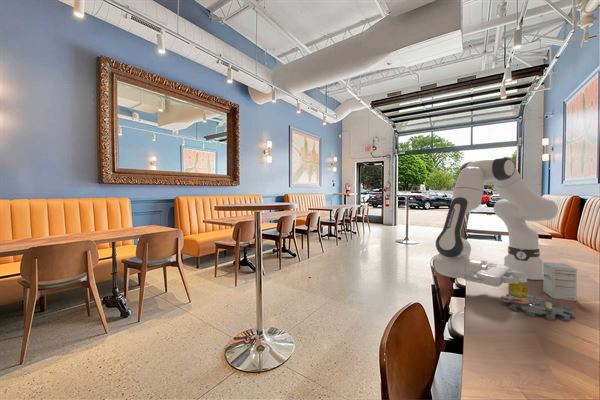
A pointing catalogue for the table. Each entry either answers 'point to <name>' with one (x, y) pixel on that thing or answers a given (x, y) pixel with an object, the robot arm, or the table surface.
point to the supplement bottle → (518, 286)
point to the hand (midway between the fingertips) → (521, 279)
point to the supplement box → (560, 281)
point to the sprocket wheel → (538, 307)
